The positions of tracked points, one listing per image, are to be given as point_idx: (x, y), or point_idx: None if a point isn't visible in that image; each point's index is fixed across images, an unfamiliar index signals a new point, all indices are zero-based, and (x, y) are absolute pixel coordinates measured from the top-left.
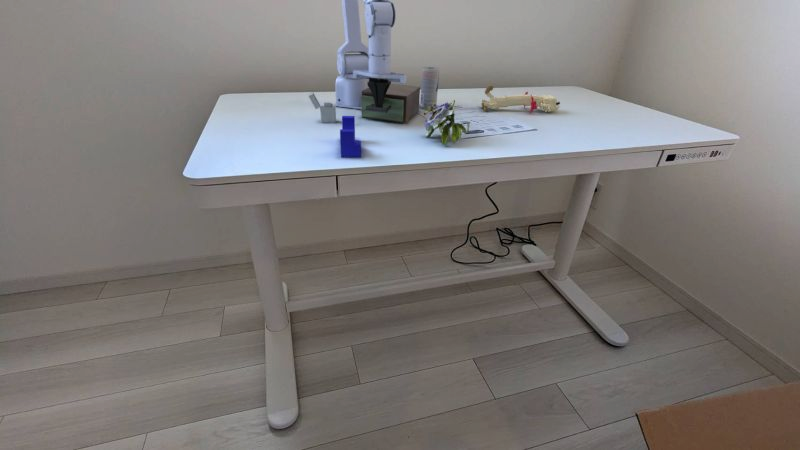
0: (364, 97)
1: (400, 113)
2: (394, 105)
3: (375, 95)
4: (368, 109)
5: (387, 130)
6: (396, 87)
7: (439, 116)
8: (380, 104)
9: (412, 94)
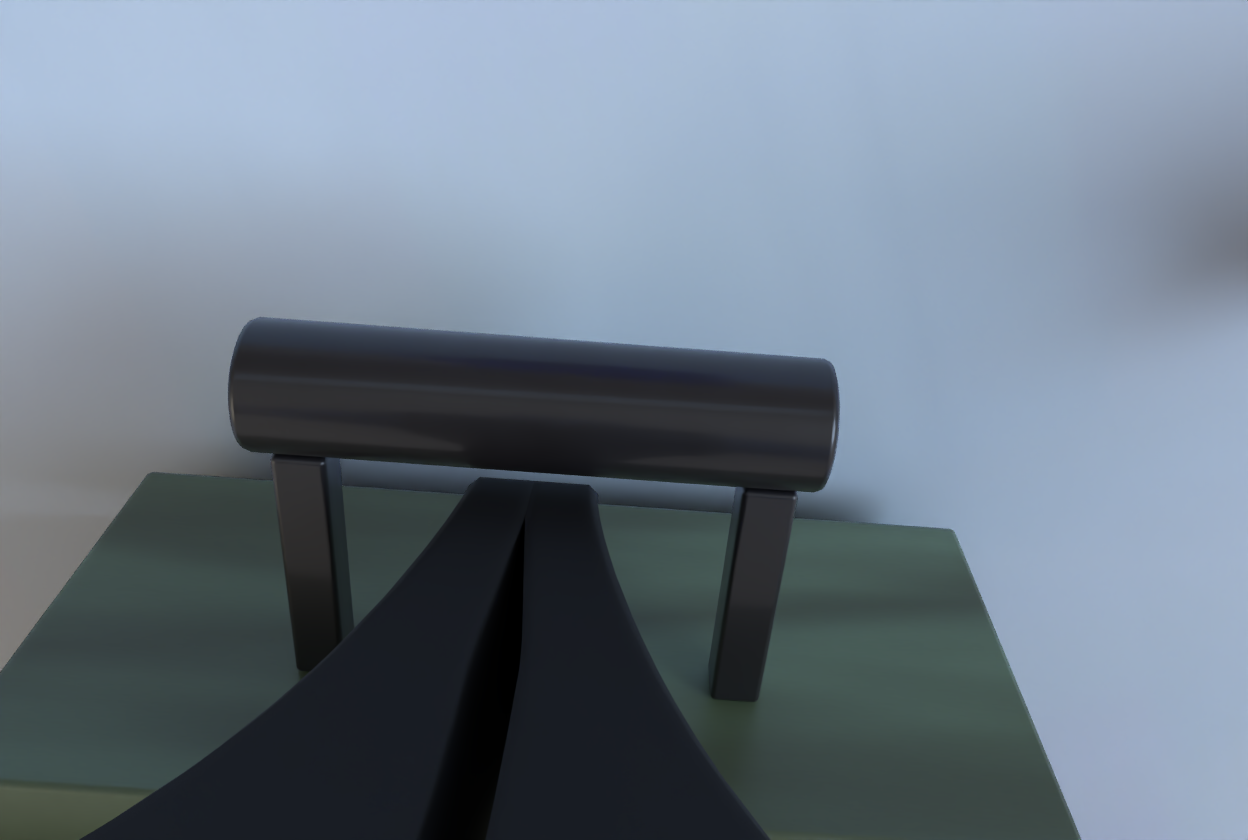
0: (987, 822)
1: (116, 567)
2: (197, 686)
3: (550, 677)
4: (748, 355)
5: (255, 34)
6: None
7: None
8: (441, 533)
9: None
